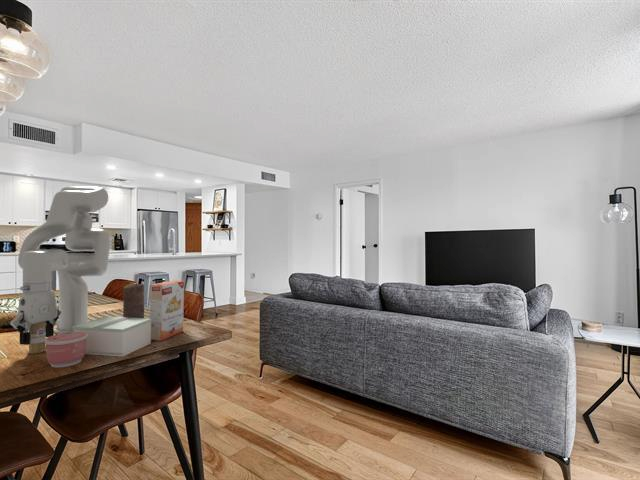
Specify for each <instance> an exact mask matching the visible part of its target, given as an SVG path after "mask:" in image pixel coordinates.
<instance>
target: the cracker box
mask: <svg viewBox="0 0 640 480" xmlns="http://www.w3.org/2000/svg"><path fill="white" fill-rule="evenodd" d="M184 293H185V281H183V280H170V281H164V282H159V283H153V284H149V297H148V298H149V301H148V302H149V304H148V319H152V321H151V341H158V342H162V341H165V340H167V339H169V338H171V337H173V336H175V335H176V336H177V334H181V333H182V332H183V331H184V303H185V301H184V298H185V297H184V295H185V294H184Z"/></svg>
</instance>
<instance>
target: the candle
mask: <svg viewBox="0 0 640 480" xmlns="http://www.w3.org/2000/svg"><path fill="white" fill-rule="evenodd" d="M122 296H123V303H122V306H123V308H122V309H123V313H122V317H133V318H145V283H139V284H137V283H135V284H126V285H125V286H124V287H123V295H122Z"/></svg>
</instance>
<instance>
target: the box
mask: <svg viewBox="0 0 640 480" xmlns="http://www.w3.org/2000/svg"><path fill="white" fill-rule="evenodd" d="M74 332H83V333H86V334H87V338H86V353H85V355H96V356H107V357H121V358H122V357H125V356H127V355H129V354H131V353H133V352H136V351H137V350H140V349H142V348H145V347H146V346H148V345H150V344H151V342H152V340H151V322H148V323H146V324H143V325H140V326H138V327H135V328H132V329H130V330H127V331H125V332H111V331H94V330H77V329H74Z"/></svg>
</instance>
